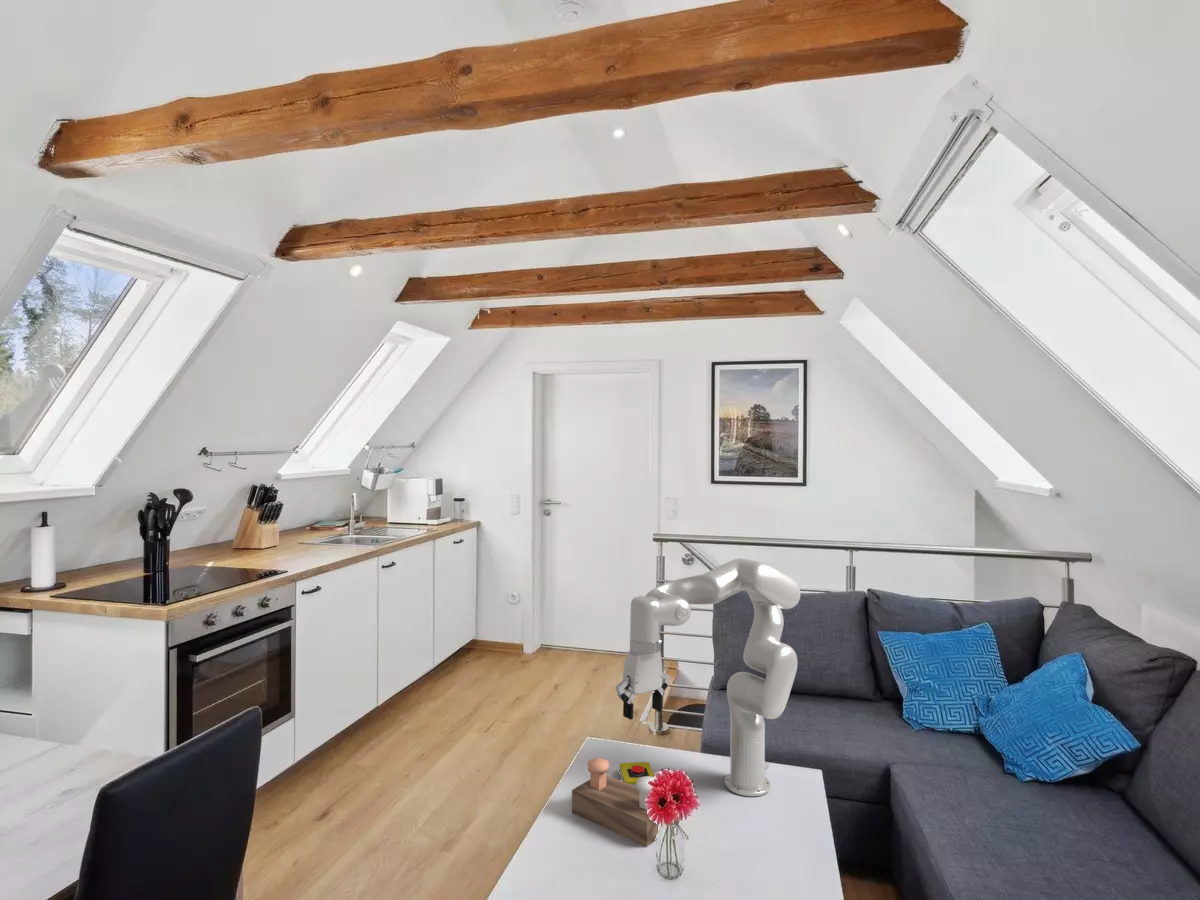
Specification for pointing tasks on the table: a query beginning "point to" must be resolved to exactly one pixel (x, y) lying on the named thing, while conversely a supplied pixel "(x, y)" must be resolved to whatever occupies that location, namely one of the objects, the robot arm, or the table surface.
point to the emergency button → (634, 772)
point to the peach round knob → (598, 772)
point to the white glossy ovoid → (644, 789)
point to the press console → (615, 810)
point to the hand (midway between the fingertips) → (642, 713)
